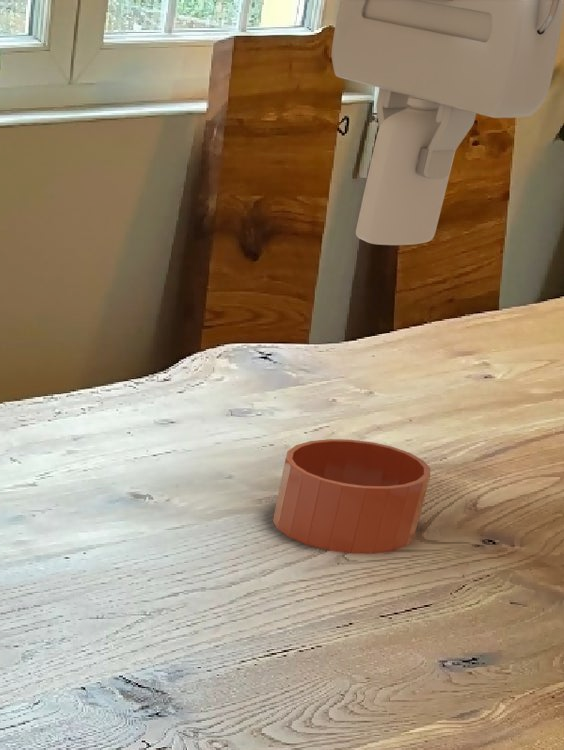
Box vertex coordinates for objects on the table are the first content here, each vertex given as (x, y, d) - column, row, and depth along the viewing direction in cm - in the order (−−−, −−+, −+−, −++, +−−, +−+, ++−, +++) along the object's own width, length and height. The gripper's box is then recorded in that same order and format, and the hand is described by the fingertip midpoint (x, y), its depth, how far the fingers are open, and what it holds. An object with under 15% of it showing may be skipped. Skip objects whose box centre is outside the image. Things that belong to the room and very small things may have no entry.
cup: (357, 513, 121) (376, 433, 117) (436, 563, 113) (460, 480, 109) (244, 527, 118) (260, 446, 114) (317, 579, 110) (336, 494, 106)
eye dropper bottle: (354, 230, 110) (394, 43, 103) (432, 237, 109) (478, 48, 102) (354, 243, 107) (396, 51, 100) (434, 250, 106) (483, 55, 98)
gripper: (613, -53, 90) (542, 198, 98) (414, -76, 105) (368, 143, 114) (527, -53, 88) (462, 202, 97) (338, -76, 103) (296, 146, 112)
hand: (410, 170), depth 105 cm, fingers closed on eye dropper bottle, 3 cm apart
